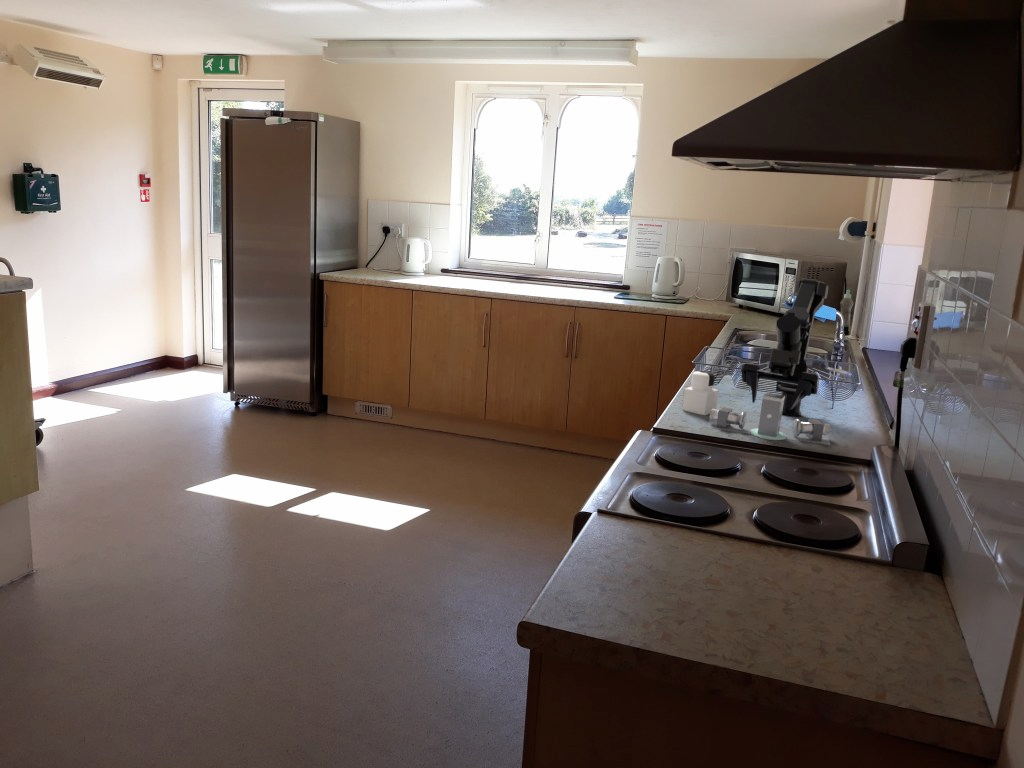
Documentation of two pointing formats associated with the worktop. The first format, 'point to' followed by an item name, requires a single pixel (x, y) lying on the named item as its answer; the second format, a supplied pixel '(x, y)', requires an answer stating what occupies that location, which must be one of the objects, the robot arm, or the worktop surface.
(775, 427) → the block
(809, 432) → the shaft
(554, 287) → the worktop surface
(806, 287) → the robot arm
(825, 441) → the coupling board
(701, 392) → the medicine bottle
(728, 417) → the shaft
